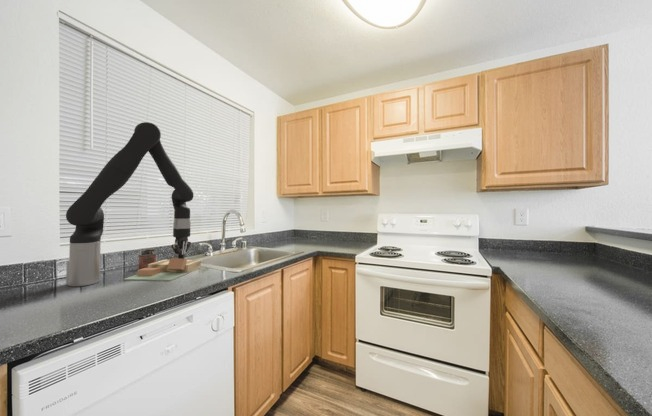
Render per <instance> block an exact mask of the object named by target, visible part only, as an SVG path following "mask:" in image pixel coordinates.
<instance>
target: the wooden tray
mask: <svg viewBox="0 0 652 416" xmlns="http://www.w3.org/2000/svg"><path fill="white" fill-rule="evenodd" d="M186 260H187V262H186V265H185V269H184V270H169V269H167V267H168V264H169V261H170V259H162V260H159V261H156V262H154V263H151V264H148V268H160V272H188V274H190V273H192V272H194V271H196V270H198V269H200V268H202V265H201V264H202V260H200V259H186Z"/></svg>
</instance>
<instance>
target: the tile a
mask: <svg viewBox="0 0 652 416" xmlns="http://www.w3.org/2000/svg"><path fill="white" fill-rule="evenodd" d="M136 273H137V274H136V275H137V276H153V275H156V274H159V273H160V268H143V269H140V270H138V269H137V271H136Z"/></svg>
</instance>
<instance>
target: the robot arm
mask: <svg viewBox="0 0 652 416" xmlns="http://www.w3.org/2000/svg"><path fill="white" fill-rule="evenodd" d="M161 137H162V133H161V130H160V128H159V127H158V126H157V125H156V124H154V123H152V122H148V121H147V122H146V121H145V122H144V121H143V122H141V123H138V124H137V125H136V126H135V128H134V130H133V134H132V135H131V137H130V139H129V140H128V141H127V142H126V144H125V145H124V147H122V148H121V149H120V150H119V151H118V152H117V153H115V154H114V156H113V155H112V158H110V160H108V162H107V163H106V164H105V165H104V166H103V168H102V170H101V171H100V172H99V173H98V175H97V176H96V177H95V178H94V180H93V181H92V183H91V184H89V186H88V188H87V189H86V190H85V191H84V193H82V194H81V196H79V197H78V198H77V199H76V200H75V201H74V202H73V203H72V204H71V205H70V206H69V208H67V210H66V213H65V220H66V221H67V222H68V223H69V224H70V225H73V226H75V230H74V232H73V233H72V234H71V235H70V236H69V252H68V254H69V258H68V259H69V260H68V261H66V273H65V275H66V276H65V277H66V279H65V282H66V283H65V285H66V286H68V287H83V286H89V285H90V286H91V285H94V284H97V283H100V279H101V278H100V276H101V275H100V274H101V273H100V272H101V237H102V235H103V234H104V226H105V225H104V222H105V213H104V210H103V208H102V207H101V206H102V205H104V203H105V202H106V200H108V198H110V197H111V196H112V195H113V194H114V193H116V192H117V191H119V190H121V188H122V187H124V186H125V184H127V182H128V181H129V179H130V178H131V177H132V176H133V175H134V173H135V172H136V170H137V169H138V167H139V165H140V163H142V160H143V159H144V157H145V156H146V154H147V153H149V155H150V156H151V158H152V160H154V163H155V165H156V167H157V168H158V170H159V171H160V174H161V176H162V177H163V179H164V180H165V182H166V184H167V185H168V186H169V187H172V188H173V189H174V190H173V191H172V193H171V202H172V206H173V210H174V213H173V223H172V225H173V226H172V227H173V228H172V229H173V230H172V237H173V238H175V239H174V244H171V248H172V251H173V253H174V254H176V255H177V256H178V258H177V259H185V254H186V253H188V250H189V248H190V246H191V244H192V243H191V241H189V237H190V236H191V224H192V223H191V208H190V207H188V206H187V203H188V202H191V201H192V200H193V199H194V192H193V189H192V188H191V186H190V185H189V184H188V183H187V182H186V181H185V180H184V179H183V176H182V175H181V173H180V171H179V170H178V168H177V166H176V164H175V163H174V162H173V160H172V159H171V157H170V156H169V155H168V153H167V151H166V150H165V147H164V146H163V145H162V142H161Z"/></svg>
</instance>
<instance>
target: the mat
mask: <svg viewBox="0 0 652 416" xmlns="http://www.w3.org/2000/svg"><path fill="white" fill-rule="evenodd" d="M188 274H189V273H188V272H160V273H159V274H156V275H153V276H137V274H135V275H132V276H128V277H126V278H124V279H123V281H149V282H150V281H154V282H155V281H157V282H160V281H162V282H172V281H174V280H176V279H180V278H182V277H183V275H184V276H186V275H188Z"/></svg>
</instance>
